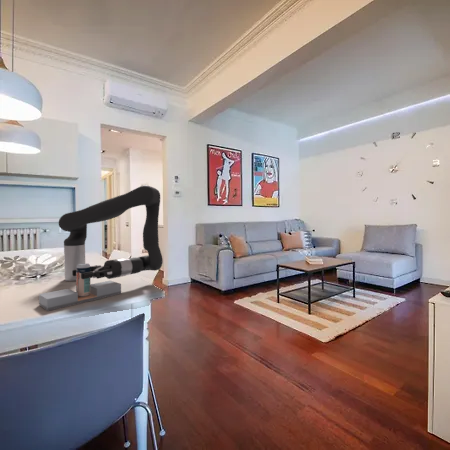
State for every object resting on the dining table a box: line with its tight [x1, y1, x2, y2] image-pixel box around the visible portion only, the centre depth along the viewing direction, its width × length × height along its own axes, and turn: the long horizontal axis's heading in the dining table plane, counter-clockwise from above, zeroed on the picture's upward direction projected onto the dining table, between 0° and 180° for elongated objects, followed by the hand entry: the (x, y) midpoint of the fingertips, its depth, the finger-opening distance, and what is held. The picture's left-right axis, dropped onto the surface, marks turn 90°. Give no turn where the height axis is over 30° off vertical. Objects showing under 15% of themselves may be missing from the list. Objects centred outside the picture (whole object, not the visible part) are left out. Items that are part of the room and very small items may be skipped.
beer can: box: [75, 263, 91, 297], centre depth 102 cm, size 5×5×12 cm
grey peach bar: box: [38, 280, 122, 312], centre depth 102 cm, size 9×26×4 cm, turn 139°
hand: (76, 274), depth 100 cm, fingers open, 8 cm apart
